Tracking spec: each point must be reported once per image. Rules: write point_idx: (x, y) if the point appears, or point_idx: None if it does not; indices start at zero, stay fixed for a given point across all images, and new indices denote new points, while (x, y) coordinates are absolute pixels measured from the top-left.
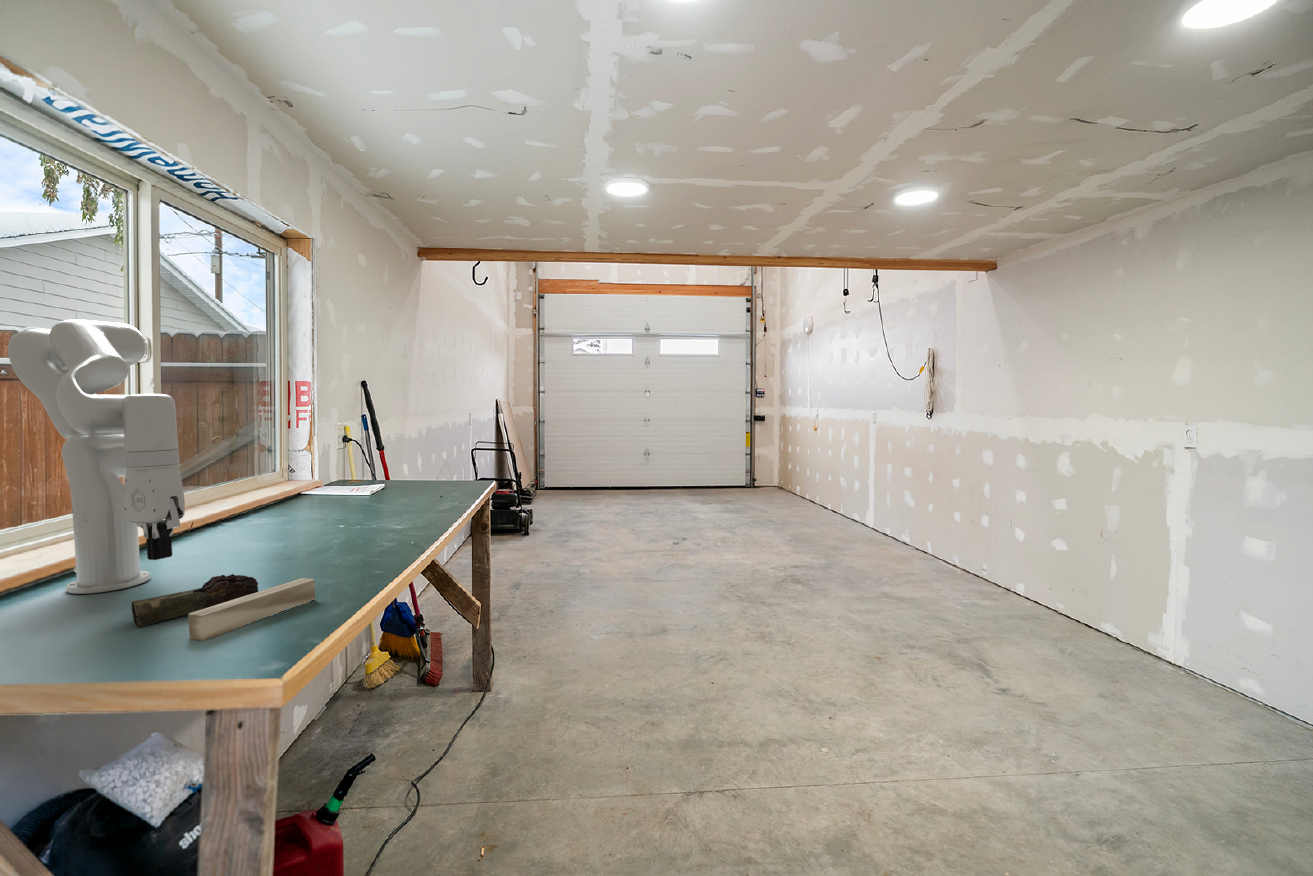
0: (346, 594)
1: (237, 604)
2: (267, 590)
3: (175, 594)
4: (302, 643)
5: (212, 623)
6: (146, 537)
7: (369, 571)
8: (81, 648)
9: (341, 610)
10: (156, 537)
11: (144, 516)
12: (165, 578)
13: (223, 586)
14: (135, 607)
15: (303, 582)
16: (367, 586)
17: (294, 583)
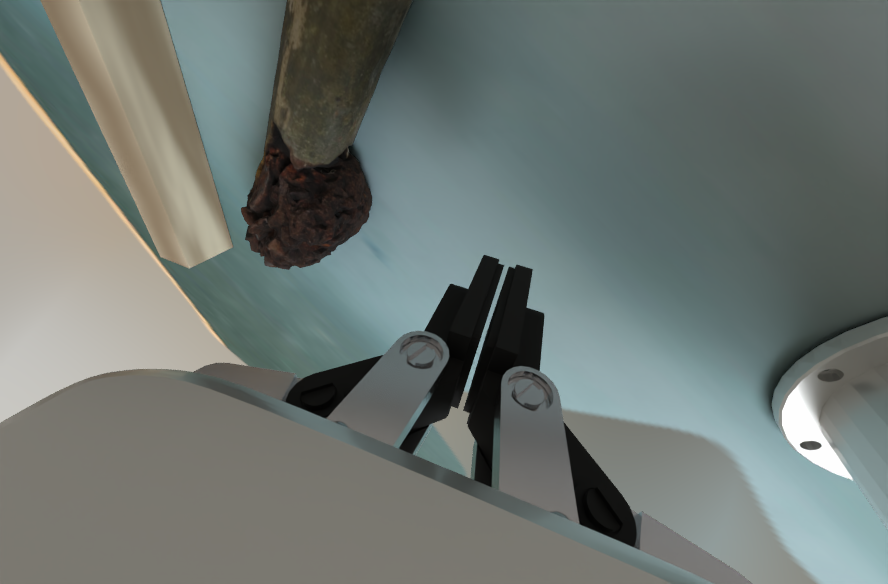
0: (200, 269)
1: (54, 26)
2: (140, 167)
3: (289, 77)
4: None
5: None
6: (534, 377)
7: None
8: None
9: (120, 184)
10: (408, 336)
11: (254, 526)
12: (721, 424)
13: (255, 189)
14: None
15: (152, 234)
16: (216, 308)
17: (158, 227)
